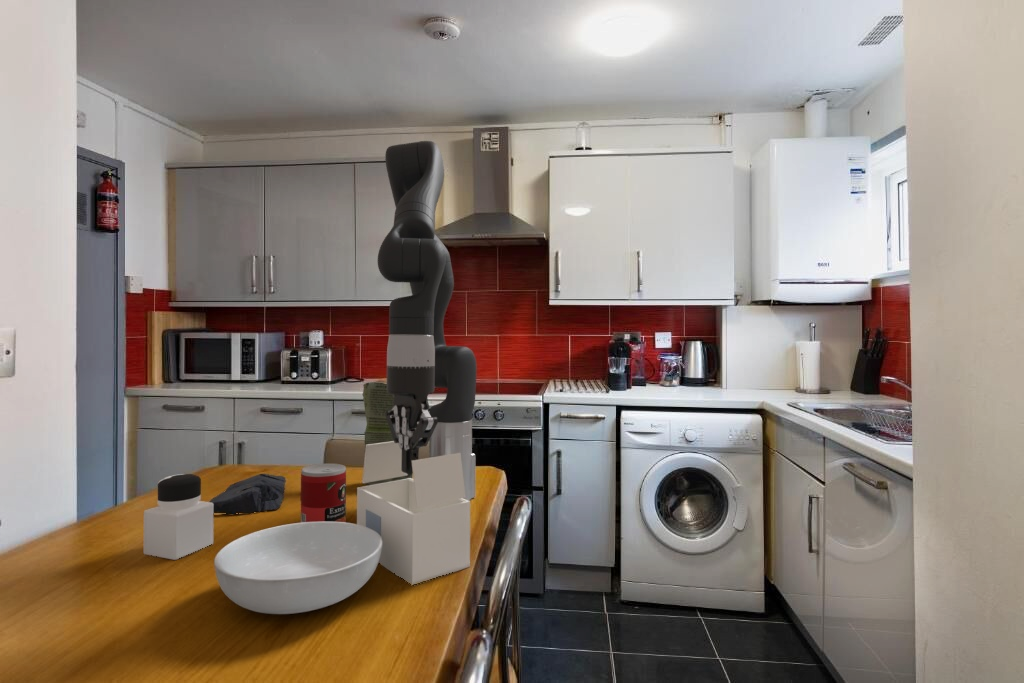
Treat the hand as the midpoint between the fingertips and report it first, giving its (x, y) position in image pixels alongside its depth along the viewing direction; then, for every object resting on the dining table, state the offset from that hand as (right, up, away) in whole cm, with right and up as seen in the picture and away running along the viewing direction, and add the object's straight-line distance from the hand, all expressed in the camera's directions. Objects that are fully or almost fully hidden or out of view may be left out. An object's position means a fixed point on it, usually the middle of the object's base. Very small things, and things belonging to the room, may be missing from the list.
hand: (409, 472), depth 85 cm
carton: (0, -14, 0) cm, 14 cm away
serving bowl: (-12, -14, -13) cm, 22 cm away
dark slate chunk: (-40, -14, +31) cm, 53 cm away
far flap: (-5, 0, +6) cm, 8 cm away
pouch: (-13, -14, +43) cm, 47 cm away
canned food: (-18, -14, +13) cm, 26 cm away
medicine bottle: (-38, -14, +3) cm, 41 cm away
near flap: (+5, 0, -6) cm, 8 cm away
